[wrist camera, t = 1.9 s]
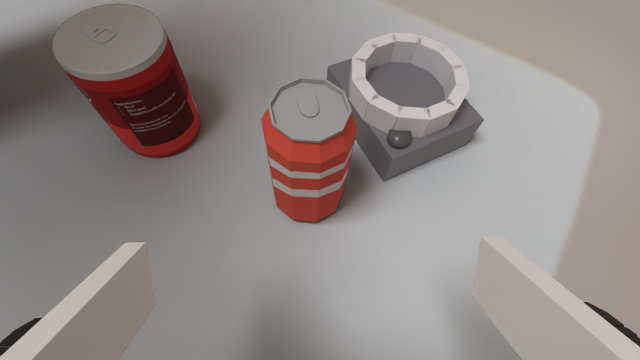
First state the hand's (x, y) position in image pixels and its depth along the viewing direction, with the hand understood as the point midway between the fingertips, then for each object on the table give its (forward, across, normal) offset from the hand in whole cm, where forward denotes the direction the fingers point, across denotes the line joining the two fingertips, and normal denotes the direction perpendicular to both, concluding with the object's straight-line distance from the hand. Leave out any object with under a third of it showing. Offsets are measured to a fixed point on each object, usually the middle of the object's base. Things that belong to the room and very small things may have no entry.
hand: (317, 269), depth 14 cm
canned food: (+24, -15, +2) cm, 28 cm away
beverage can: (+18, 0, -3) cm, 19 cm away
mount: (+24, +9, +3) cm, 26 cm away
